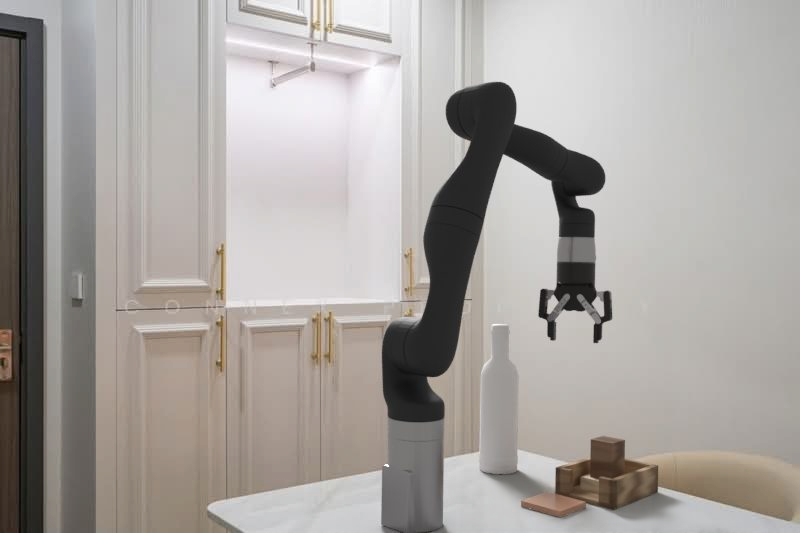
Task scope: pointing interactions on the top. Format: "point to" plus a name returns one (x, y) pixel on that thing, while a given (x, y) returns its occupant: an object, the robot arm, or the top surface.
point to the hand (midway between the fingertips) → (574, 341)
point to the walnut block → (607, 457)
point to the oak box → (607, 484)
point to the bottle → (499, 407)
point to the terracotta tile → (553, 504)
